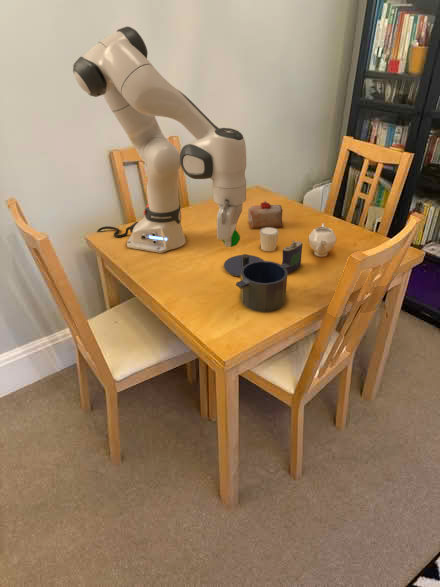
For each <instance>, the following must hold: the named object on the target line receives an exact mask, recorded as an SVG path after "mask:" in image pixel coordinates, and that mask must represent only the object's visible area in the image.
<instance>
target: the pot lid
mask: <svg viewBox="0 0 440 587" xmlns="http://www.w3.org/2000/svg"><path fill="white" fill-rule="evenodd" d="M256 261H265V260H264V259H263V258H261V257H259V256H256V255H251V254H247V253H243V254H238V255H234V256H231V257H229V258H227V259H226V260H225V261H224V263H223V269H224V270H225V272H226V273H227V274H230V275H232V276H235V277H239V278H241V270H242V268H243V267H244V266H245V265H246V264H249V263H251V262H256Z"/></svg>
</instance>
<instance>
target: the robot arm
mask: <svg viewBox="0 0 440 587" xmlns="http://www.w3.org/2000/svg"><path fill="white" fill-rule="evenodd" d="M72 72H73V74H74V77H75V81H76V83H77V85H78V86H79V87H80V89H82V91H83V92H85V93H86V94H87V95H89V96H90V97H94V98H97V97H101V96H103V97H104V100H105V102H106V103H107V105H108V107H109V109H110V110H111V112H112V113H113V115H114V117H115V118H116V119H117V121H118V123H119V124H120V126H121V127H122V129H123V130H124V132H125V134H126V135H127V137H128V139H129V141H130V142H131V144H132V146H133V148H134V149H135V152H136V153H137V154H138V156H139V158H140V159H141V161H143V163H144V164H145V166H146V169H147V185H146V193H147V205H146V206H145V208H144V210H143V212H142V213H143V216H144V217H143V218H141V219H140V220H139V221H135V222H134V223H133V224H132V225H130V226H128V227H126V228H125V232H123V233H122V234H119V232H120V229H119V228H118V227H115V226H109V225H108V226H106V225H105V226H102V227H99V228H98V229H97V230H96V233H100V232H101V231H103V230H114V231H115V232H113V237H115V238H123V237H126V236H127V235H128V234H129V232H130V233H132V234H131V235H130V236H129V237H128V239H127V242H126V246H127V248H129V249H133V250H134V249H135V250H139V251H140V250H141V251H146V252H153V253H157V254H158V253H159V254H163V253H165V252H166V253H167V252H168V251H171V250H175V249H179V248H180V247H182V246H184V245H185V243H186V242H187V239H186V236H185V234H184V231H183V230H184V229H183V226H182V209H181V205H180V202H179V188H178V182H179V172H180V169H182V171H183V173H184V174H185V175H186V176H187V177H189V178H191V179H193V180H207V179H210V180H211V181H212V197H213V199H212V200H213V202H214V203H215V204H217V206H218V208H219V209H218V211H217V215H216V239H217V240H219V241H223V240H224V241H225V244H224V247H225V248H226V247H227V248H232V247H231V245H232V239H231V237H232V235H233V232H234V230H235V231H237V225H238V221H239V219H240V216H241V214H242V212H243V211H242V210H243V205H244V203H245V202H246V201H247V179H246V169H247V146H246V141H245V137H244V135H243V133H242V132H240V131H239V130H237V129H234V128H231V127H220V128H219V127H218V126H217V125H216V124H214V123H213V121H211V120H210V118H208V116H206V114H205V113H204V112H203V111H202V110H200V108H199V107H198V106H197V105H196V104H195V103H194V102H193V101H192V100H191V99H190V98H189V97H188V96H187V95H185V94H184V93H183V92H182V91H181V90H179V89H178V88H176V87H175V86H174V85H172V84H171V83H170V82H169V81H168V80H167V79H166V78H165V77H164V76H163V75H162V74H161V73H160V72H159V71H158V70H157V69H156V68H155V66H154V65H153V64H152V63H151V62H150V60H149V59H148V48H147V46H146V43H145V40H144V39H143V37H142V36H141V35H140V33H139V32H138V31H137V30H136V29H134V28H133V27H131V26H124V27H121V28H119V29H117V30H116V32H114V33H112V34H109V35H108V36H106V37H104V38H103V39H100V40H99V41H98V42H97V44H95V45H94V46H93V47H92V48H90V49H89V50H88V51H87V52H86V53H84V54H83V56H79V57H78V58H77V60H76V61H75V62H74V63H73V67H72ZM156 117H162V118H169V119H171V120H174V121H177V122H178V123H179V124H181V125H182V127H183V128H185V129H186V130H187V131H188V132H189V133H190V134H191V135H192V136H193V137H194V138H195V140H193V141H191V142H188V143H187V144H185V145H184V146H182V148H181V150H180V152H179V150H178V148H177V147H176V145H174V144H173V143H172V142H170V140H168V138H166V136H165V134H164V133H163V131H162V129H161V127H160V125H159V123H158V120H157V118H156Z"/></svg>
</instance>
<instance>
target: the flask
mask: <svg viewBox="0 0 440 587" xmlns="http://www.w3.org/2000/svg"><path fill="white" fill-rule="evenodd" d="M291 242H292V243H291V244H290V245H289V246H285V247H284V248H282V259H281V260H282V261H281V265H282V264H284V263H286V264H288V265H290V266H291V267H290V269H289V270H287V271H288V274H287V276H288V275H291V274H292V273H294V272H296V271H297V270H298V269H299V268H301V266H302V254H303V242H302V241H299V240H297V241H295V240H291Z"/></svg>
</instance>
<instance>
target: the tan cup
mask: <svg viewBox="0 0 440 587" xmlns="http://www.w3.org/2000/svg"><path fill="white" fill-rule="evenodd" d="M279 233H280V232H279V229H278V228H277V227H265V228H260V230H259V239H260V249H261V250H262V251H264V252H274V251H276V249H277V245H278V239H279V238H278V237H279Z"/></svg>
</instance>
